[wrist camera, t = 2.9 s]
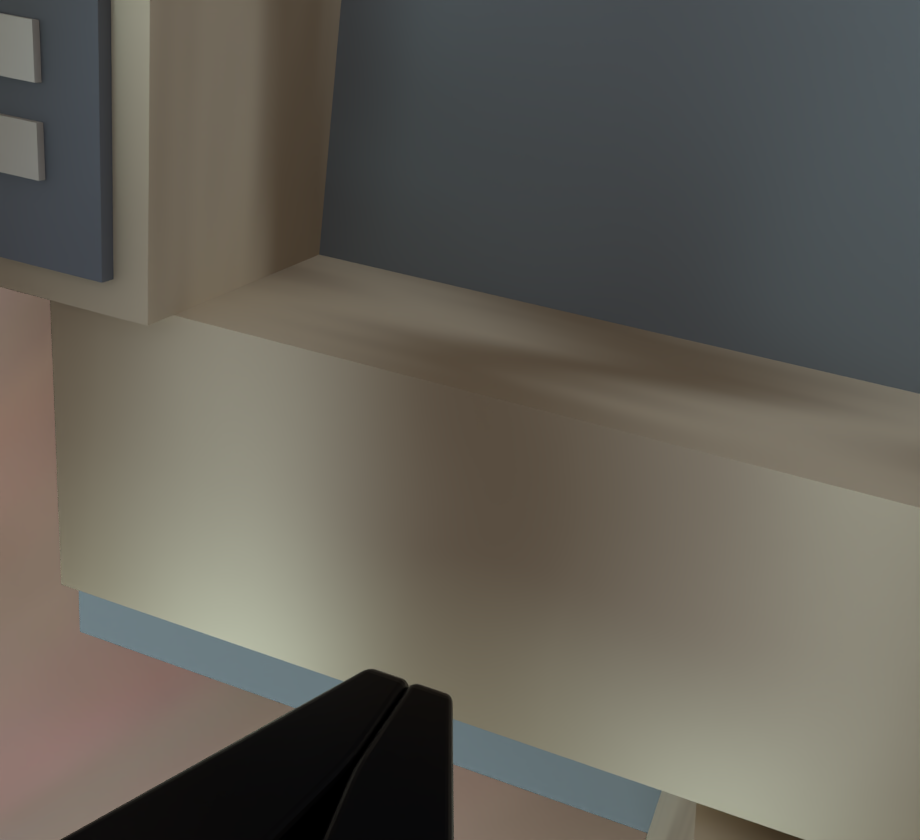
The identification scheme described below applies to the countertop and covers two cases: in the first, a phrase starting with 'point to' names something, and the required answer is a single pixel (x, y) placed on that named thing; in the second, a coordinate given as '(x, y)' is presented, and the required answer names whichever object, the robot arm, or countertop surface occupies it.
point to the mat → (620, 216)
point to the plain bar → (521, 527)
